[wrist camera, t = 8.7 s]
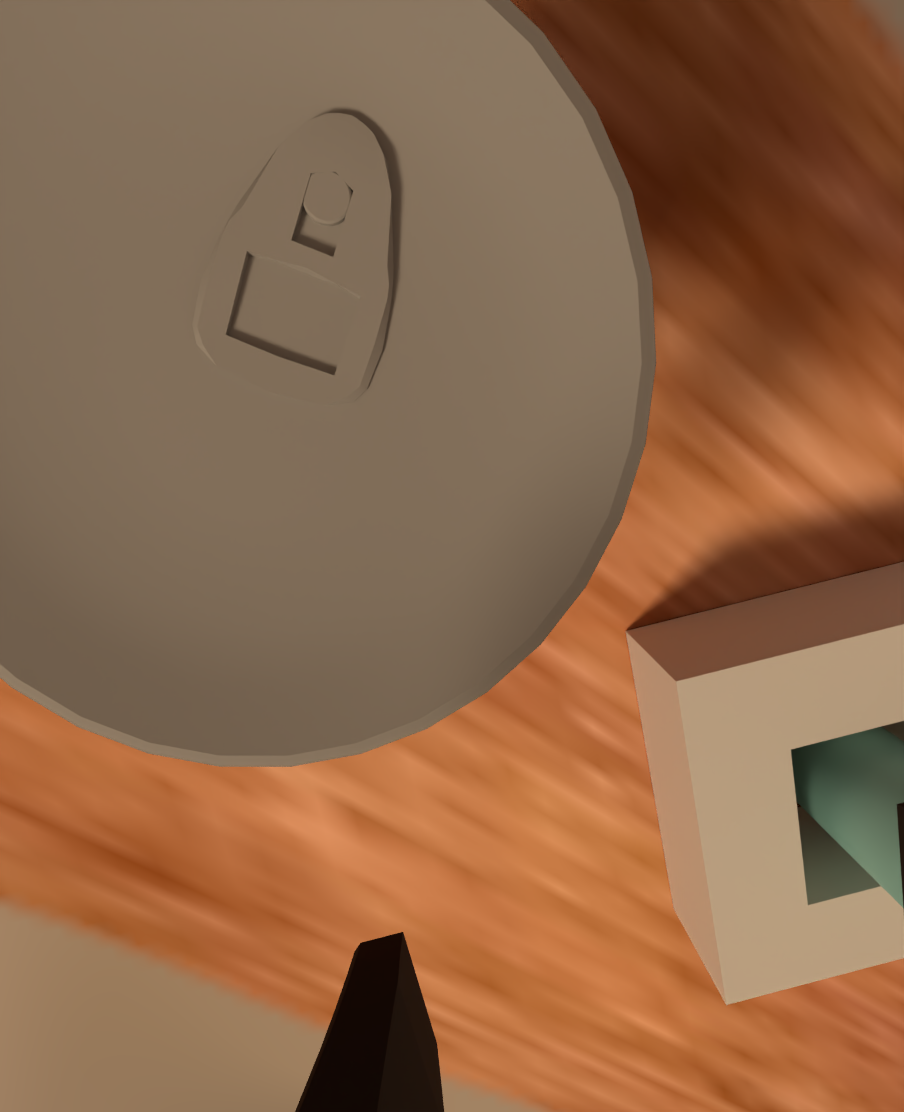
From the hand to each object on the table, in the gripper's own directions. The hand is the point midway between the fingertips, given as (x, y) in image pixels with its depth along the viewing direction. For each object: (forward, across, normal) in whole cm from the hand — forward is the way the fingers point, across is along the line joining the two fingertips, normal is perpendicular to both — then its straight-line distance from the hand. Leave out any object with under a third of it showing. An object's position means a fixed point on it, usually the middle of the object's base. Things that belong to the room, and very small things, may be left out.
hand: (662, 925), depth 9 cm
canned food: (+10, +3, -8) cm, 13 cm away
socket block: (+10, -8, +5) cm, 14 cm away
